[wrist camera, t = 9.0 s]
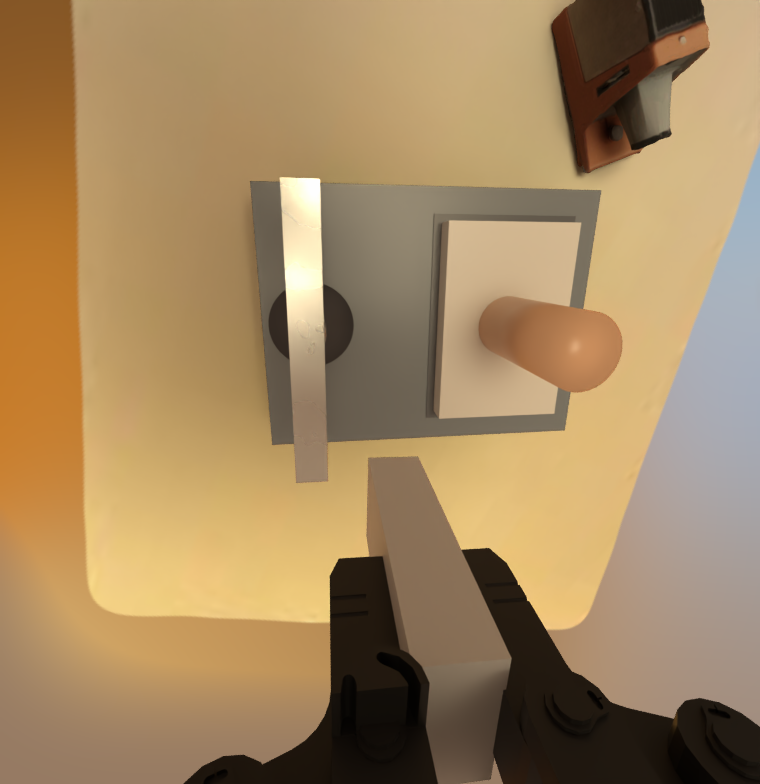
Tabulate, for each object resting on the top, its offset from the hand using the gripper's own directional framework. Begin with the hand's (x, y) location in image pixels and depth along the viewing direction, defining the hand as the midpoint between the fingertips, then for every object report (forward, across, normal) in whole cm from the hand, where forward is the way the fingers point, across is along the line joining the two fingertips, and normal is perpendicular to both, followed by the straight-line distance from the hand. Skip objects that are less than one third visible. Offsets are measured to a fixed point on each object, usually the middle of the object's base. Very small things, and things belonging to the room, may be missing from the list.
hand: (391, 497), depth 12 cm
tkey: (+15, -3, +3) cm, 16 cm away
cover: (+15, +9, +3) cm, 18 cm away
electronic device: (+21, +16, +18) cm, 32 cm away
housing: (+20, +5, +3) cm, 21 cm away
